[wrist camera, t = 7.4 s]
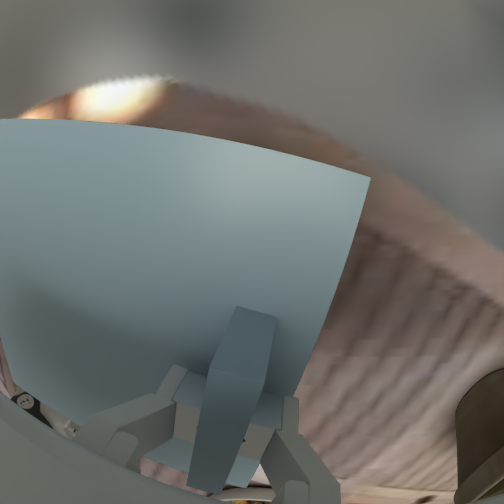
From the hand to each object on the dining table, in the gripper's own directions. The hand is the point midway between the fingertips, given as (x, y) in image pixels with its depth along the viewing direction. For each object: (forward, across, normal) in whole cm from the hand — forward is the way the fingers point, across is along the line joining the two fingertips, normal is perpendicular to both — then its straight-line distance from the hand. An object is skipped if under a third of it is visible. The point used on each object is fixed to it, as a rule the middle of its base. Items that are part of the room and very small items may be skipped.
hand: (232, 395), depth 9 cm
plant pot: (+28, +46, -20) cm, 58 cm away
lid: (+2, -6, 0) cm, 6 cm away
